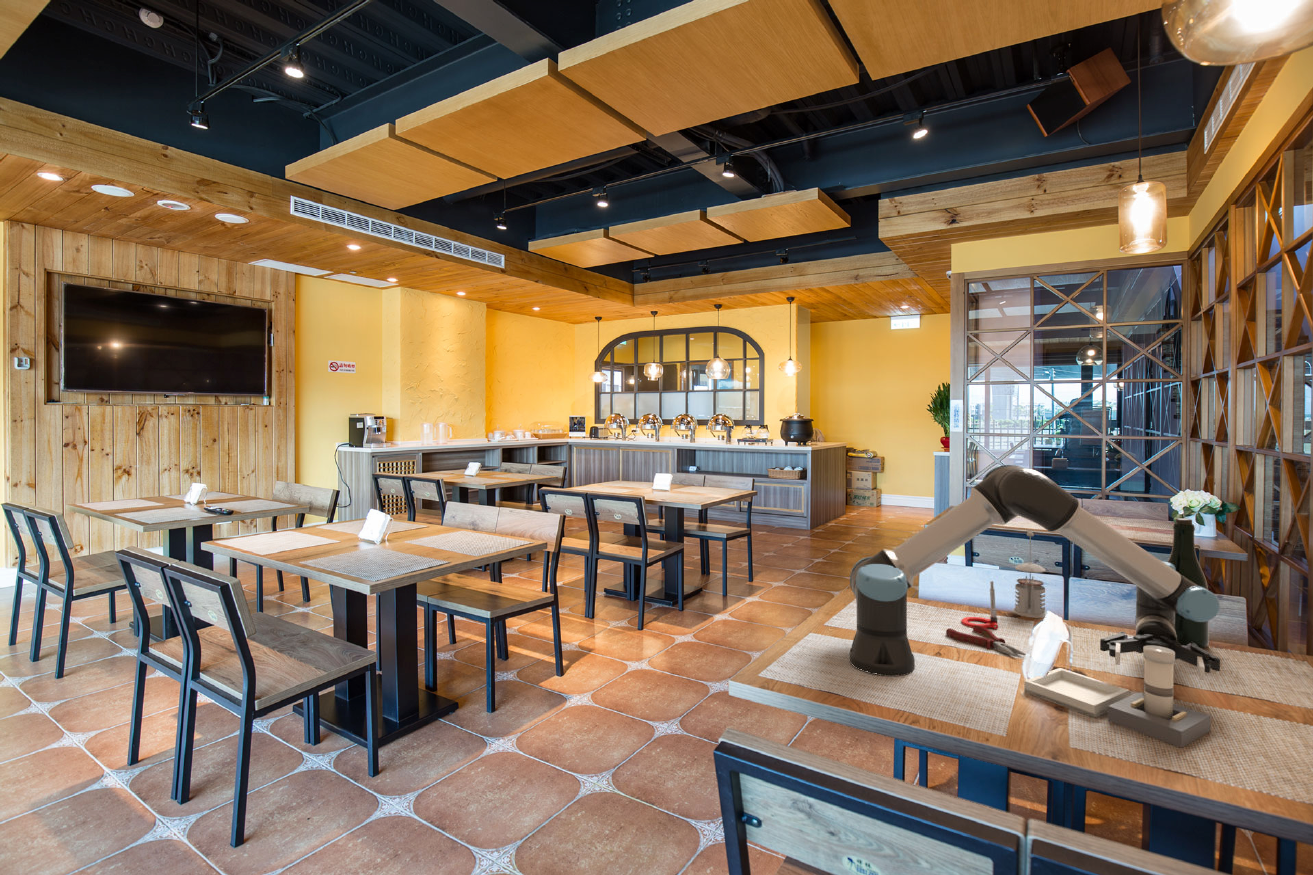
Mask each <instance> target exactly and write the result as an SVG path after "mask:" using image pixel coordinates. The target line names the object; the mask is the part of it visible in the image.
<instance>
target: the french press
mask: <svg viewBox="0 0 1313 875" xmlns="http://www.w3.org/2000/svg"><path fill="white" fill-rule="evenodd" d="M1026 536H1027V537H1029V562H1027V563H1026V562H1023V563H1019V564H1017V565H1016V566H1015V567H1014V568H1015V570H1016V571H1018V572H1022V573H1029V578H1028V576H1027V575H1025V578H1018V579H1016V582H1017V583H1016V584H1015V586H1014V588H1015V591H1014V593H1015V595H1014V596H1015V597H1014V598H1015V600H1014V602H1015V604H1014V608H1012V610H1011V612H1012V613H1013V614H1015V615H1018V616H1021V617H1027V618H1034V619H1043V618H1046V617H1045V614H1046V613H1047V612H1046V607H1045V606H1046V602H1045V601H1046V594H1045V593H1046V588H1045V587H1044V586H1043V585H1044V584H1045V583H1044V582H1043V581H1041V580H1038V579H1034V576H1031V575H1032V574H1040V573H1044V572H1045V571H1046V569H1045V568H1044V567H1042V566H1041V565H1039V564H1036V563H1032V561H1031V560H1032V552H1031V551H1032V546H1031V545H1032V544H1031V543H1032V540H1031V538H1032V537H1034V536H1035V534H1034V533H1033V532H1032V531H1027V533H1026Z"/></svg>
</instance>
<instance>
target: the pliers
mask: <svg viewBox="0 0 1313 875" xmlns="http://www.w3.org/2000/svg"><path fill="white" fill-rule="evenodd" d="M972 631H973V632H975V633H978V634H980V635H983V636H985V637H982V636H977V635H973V634H968V633H964V632H959V631H958V630H955V629H953V628H947V629H946V631H945V634H946V636H947V637H948V638H951V639H954V640H956V641H958V642H962V643H966V644H971V645H976V646H980V647H985V648H986V649H987V650H991V649H994V650H996V651H998V652H1000V653H1003V654H1007V655H1009V656H1012V657H1014V658H1017V657H1018V656H1017V655H1021V656H1026V655H1027V654H1026V653H1025V652H1023V651H1021V650H1020V649H1017V648H1016V647H1013V646H1011V645H1010V644H1007V643H1006V640H1005V639H1004V638H1003V637H997V636H996V635H995V634H994V632H992V631H991V630H990V629H988V628H984V627H981V626H978V625H974V626H973V627H972Z"/></svg>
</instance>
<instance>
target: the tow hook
mask: <svg viewBox="0 0 1313 875" xmlns="http://www.w3.org/2000/svg"><path fill="white" fill-rule="evenodd" d="M989 583H990V588H989V597H990V598H989V599H990V600H989V601H990V607H989V612H990V616H989V618H986V617H979V616H966V617H963V618H961V624H962V625H964V626H965V627H966V626H967V627H970V628H973V626H974V625H978V626H981V627H984V628H986V629H988V628H991V629H992V628H993V629H994V630H997V629H999V626H998V617H997V608H996V593H995V588H994V581H993V580H991V581H990V582H989ZM974 622H983V623H974Z"/></svg>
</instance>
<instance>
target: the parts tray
mask: <svg viewBox="0 0 1313 875" xmlns="http://www.w3.org/2000/svg"><path fill="white" fill-rule="evenodd" d="M1048 672H1049V673H1048V675H1047V676H1045V677H1042V676H1039V675H1036V676H1033V677H1031V678H1028V679H1025V680H1024V682H1023V683H1024V688H1023V690H1024V693H1025V694H1029V695H1031V696H1034V697H1037V698H1040V699H1042V700H1045V701H1048V702H1051V703H1053V704H1055V705H1058V706H1062V707H1064V708H1066V709H1070V710H1071V711H1074V712H1078V713H1080V714H1082V715H1085V716H1088V717H1090V718H1093V719H1096V718H1097V717H1100V716H1101V715H1104V714H1106V713H1108V706H1109V705H1111V704H1113V703H1116V702H1118V701H1120V700H1122V699H1124V698H1127V697H1129V696H1130V689H1127V688H1124V687H1121V686H1118V685H1115V684H1112V683H1108V682H1105V681H1102V680H1099V679H1096V678H1093V677H1090V676H1087V675H1084V674H1080V673H1077V672H1074V671H1071V670H1069V669H1066V668H1065V669H1064V668H1062V667H1058V668H1056V669H1053V670H1050V671H1048Z"/></svg>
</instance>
